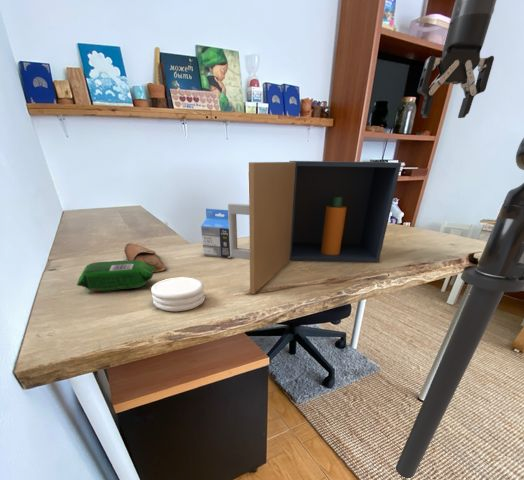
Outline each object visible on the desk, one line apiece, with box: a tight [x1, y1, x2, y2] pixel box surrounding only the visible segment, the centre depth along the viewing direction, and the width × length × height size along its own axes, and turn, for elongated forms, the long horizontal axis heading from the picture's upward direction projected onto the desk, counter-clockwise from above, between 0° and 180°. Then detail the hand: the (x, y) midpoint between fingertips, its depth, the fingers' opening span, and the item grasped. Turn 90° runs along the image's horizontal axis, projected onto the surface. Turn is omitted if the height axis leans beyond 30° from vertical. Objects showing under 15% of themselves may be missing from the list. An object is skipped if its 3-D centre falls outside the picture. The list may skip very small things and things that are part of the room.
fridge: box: [288, 160, 402, 263], centre depth 85 cm, size 18×26×24 cm
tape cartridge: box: [200, 208, 233, 259], centre depth 84 cm, size 9×4×12 cm, turn 72°
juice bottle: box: [321, 196, 347, 255], centre depth 84 cm, size 6×6×15 cm
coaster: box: [150, 276, 206, 312], centre depth 58 cm, size 10×10×4 cm
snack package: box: [76, 259, 158, 292], centre depth 64 cm, size 7×16×5 cm, turn 104°
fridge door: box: [227, 161, 296, 295], centre depth 67 cm, size 6×26×24 cm, turn 159°
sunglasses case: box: [124, 242, 166, 274], centre depth 79 cm, size 18×7×7 cm, turn 27°
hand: (443, 117), depth 70 cm, fingers open, 8 cm apart
